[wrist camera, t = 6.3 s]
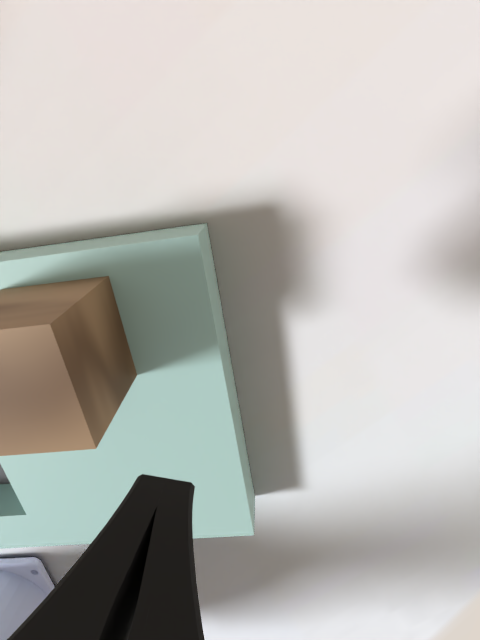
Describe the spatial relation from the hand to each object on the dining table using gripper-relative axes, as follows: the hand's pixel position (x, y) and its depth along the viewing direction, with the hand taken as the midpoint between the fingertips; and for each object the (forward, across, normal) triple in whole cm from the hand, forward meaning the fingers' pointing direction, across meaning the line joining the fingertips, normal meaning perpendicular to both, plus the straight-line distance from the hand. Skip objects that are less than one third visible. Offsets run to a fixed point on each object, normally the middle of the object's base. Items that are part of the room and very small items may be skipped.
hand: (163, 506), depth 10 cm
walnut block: (+7, +6, 0) cm, 9 cm away
